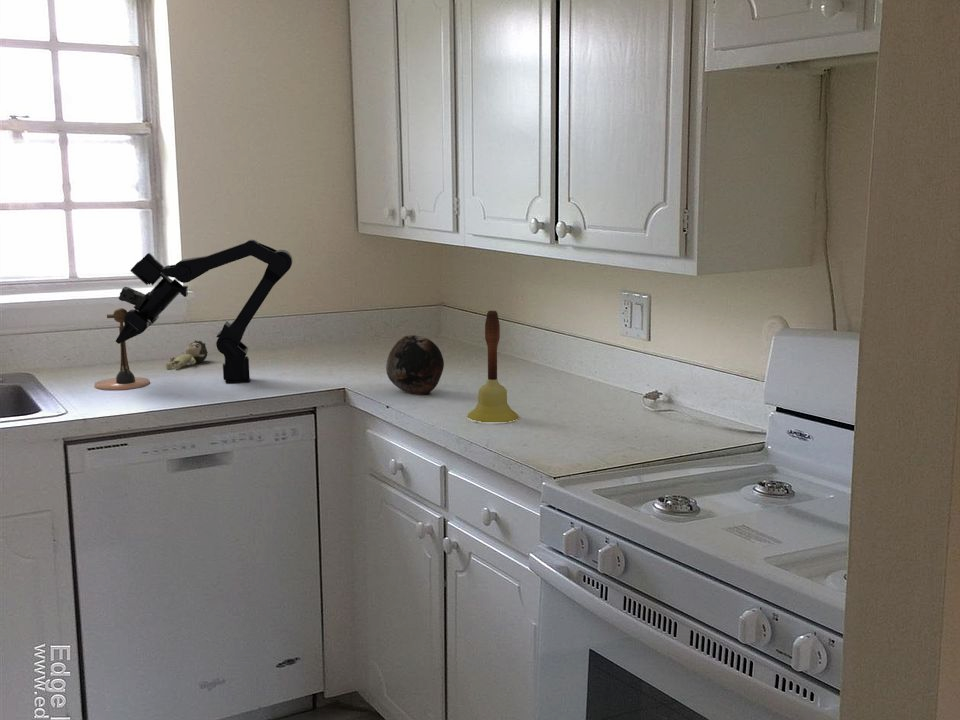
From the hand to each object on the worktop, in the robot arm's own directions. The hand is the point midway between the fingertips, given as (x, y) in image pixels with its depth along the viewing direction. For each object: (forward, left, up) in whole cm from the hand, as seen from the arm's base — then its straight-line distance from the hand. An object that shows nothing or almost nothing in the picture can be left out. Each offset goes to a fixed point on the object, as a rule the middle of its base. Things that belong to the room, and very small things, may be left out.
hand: (120, 339), depth 275 cm
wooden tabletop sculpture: (0, 0, -12) cm, 12 cm away
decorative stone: (-74, +32, -12) cm, 81 cm away
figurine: (-17, -23, -13) cm, 31 cm away
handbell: (-85, +63, -12) cm, 106 cm away
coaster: (0, 0, -12) cm, 12 cm away
